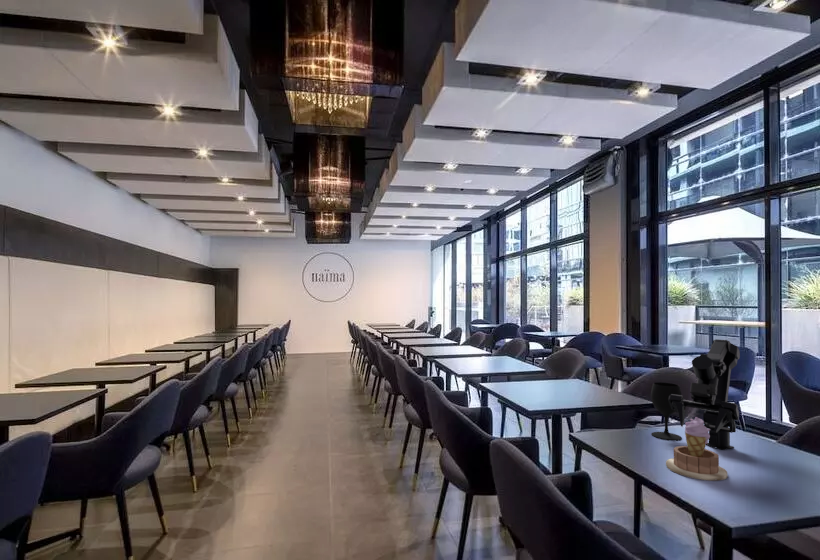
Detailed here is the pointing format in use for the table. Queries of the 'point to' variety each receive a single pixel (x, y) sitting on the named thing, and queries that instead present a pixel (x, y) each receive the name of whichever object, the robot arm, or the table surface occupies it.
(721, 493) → the table surface
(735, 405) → the robot arm
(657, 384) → the wine glass
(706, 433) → the ice cream cone
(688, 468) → the cone stand
